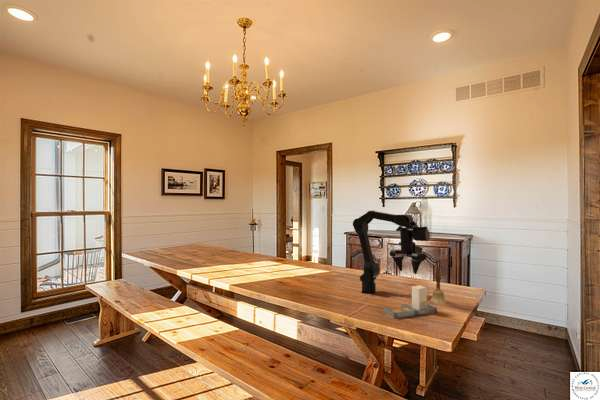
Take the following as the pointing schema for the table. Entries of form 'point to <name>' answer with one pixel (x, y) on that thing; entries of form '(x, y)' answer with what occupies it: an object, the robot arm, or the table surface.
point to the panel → (409, 311)
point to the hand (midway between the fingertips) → (408, 272)
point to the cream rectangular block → (419, 297)
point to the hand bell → (438, 290)
